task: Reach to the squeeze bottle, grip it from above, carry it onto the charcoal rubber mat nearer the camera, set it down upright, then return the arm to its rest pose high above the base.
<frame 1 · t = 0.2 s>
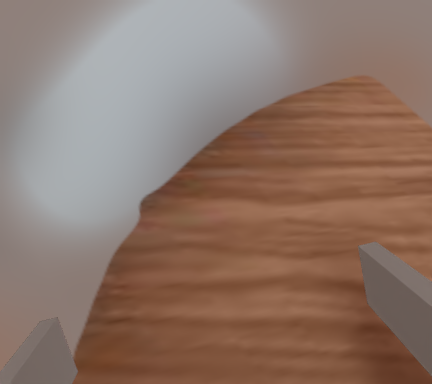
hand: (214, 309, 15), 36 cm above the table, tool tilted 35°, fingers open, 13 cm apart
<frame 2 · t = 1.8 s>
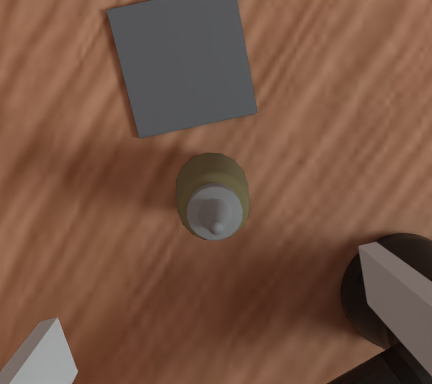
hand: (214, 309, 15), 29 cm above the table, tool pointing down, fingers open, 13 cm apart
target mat: (185, 64, 40), on the table
squeeze bottle: (211, 182, 43), on the table
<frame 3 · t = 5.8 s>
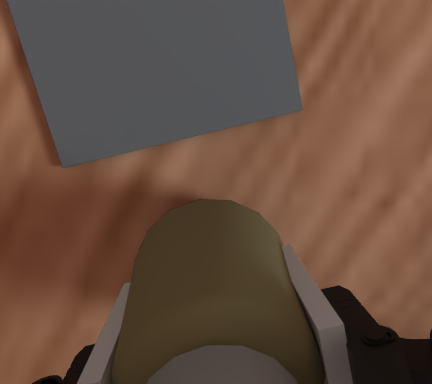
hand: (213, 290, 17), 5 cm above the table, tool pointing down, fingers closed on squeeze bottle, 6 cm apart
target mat: (150, 11, 19), on the table
squeeze bottle: (210, 247, 22), on the table, touching gripper
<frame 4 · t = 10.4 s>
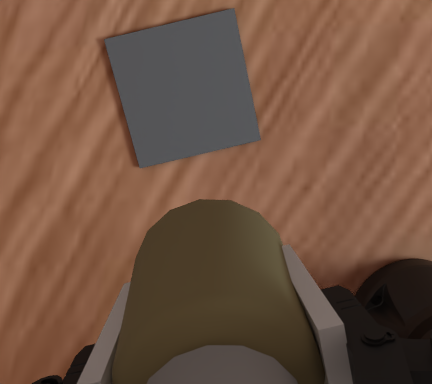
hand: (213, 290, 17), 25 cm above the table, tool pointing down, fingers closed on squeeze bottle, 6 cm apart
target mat: (185, 91, 39), on the table
squeeze bottle: (210, 247, 22), point 19 cm above the table, touching gripper
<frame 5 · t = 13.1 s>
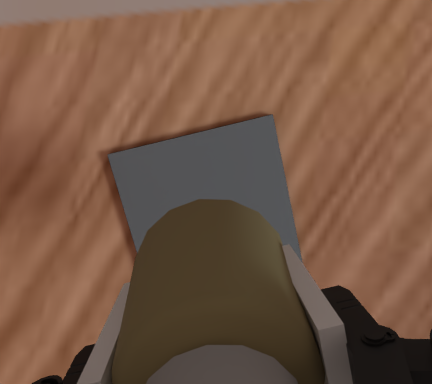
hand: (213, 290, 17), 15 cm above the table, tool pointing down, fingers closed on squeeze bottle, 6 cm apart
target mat: (209, 212, 31), on the table
squeeze bottle: (210, 246, 22), point 9 cm above the table, touching gripper
when the fingers open (7 cm above the table, at t = 15.4 s): squeeze bottle drops 1 cm, resting on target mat.
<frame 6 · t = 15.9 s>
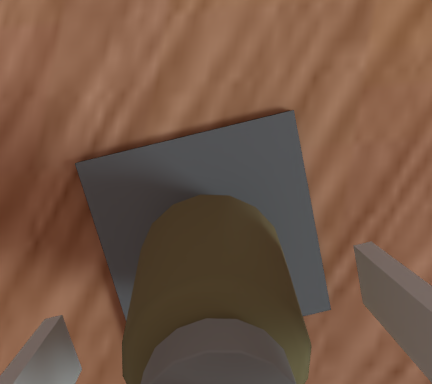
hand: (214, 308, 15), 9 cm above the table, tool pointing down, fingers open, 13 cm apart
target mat: (210, 237, 24), on the table
squeeze bottle: (210, 240, 24), resting on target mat
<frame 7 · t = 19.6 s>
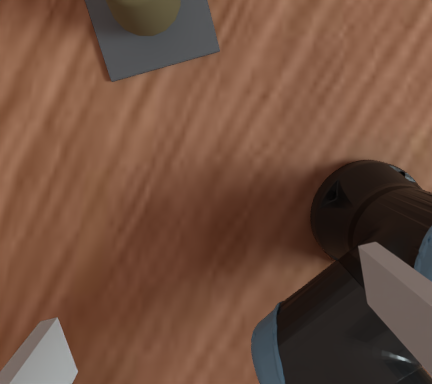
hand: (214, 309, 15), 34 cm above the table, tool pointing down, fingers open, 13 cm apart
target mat: (148, 7, 43), on the table
squeeze bottle: (148, 7, 43), resting on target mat
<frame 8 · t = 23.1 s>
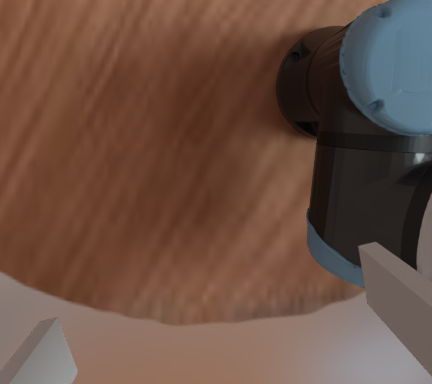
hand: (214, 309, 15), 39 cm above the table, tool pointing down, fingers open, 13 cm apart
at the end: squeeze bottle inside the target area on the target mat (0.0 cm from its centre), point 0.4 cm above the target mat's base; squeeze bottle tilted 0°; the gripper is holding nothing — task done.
